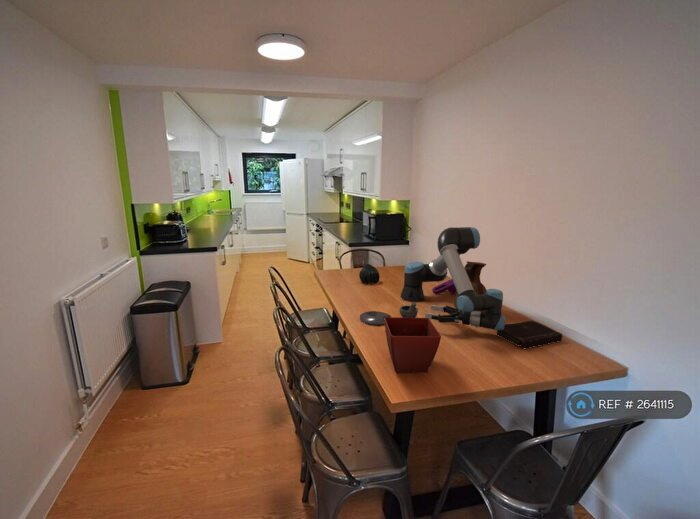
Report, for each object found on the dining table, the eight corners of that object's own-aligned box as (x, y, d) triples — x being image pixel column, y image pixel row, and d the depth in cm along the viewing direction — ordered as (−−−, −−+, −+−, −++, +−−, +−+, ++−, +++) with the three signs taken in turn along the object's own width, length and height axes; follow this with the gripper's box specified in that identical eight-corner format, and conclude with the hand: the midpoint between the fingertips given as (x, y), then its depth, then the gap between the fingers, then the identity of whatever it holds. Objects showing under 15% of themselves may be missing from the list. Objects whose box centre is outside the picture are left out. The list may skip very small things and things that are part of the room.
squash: (380, 279, 244) (379, 261, 251) (359, 280, 244) (359, 261, 252) (379, 288, 256) (378, 270, 264) (359, 288, 257) (359, 270, 264)
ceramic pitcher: (493, 312, 201) (499, 262, 194) (479, 321, 186) (485, 268, 180) (461, 303, 214) (466, 256, 207) (446, 311, 199) (450, 261, 193)
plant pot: (426, 353, 149) (428, 317, 146) (438, 377, 131) (442, 336, 127) (382, 353, 149) (384, 316, 145) (388, 377, 130) (390, 336, 126)
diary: (561, 343, 164) (563, 333, 163) (523, 351, 154) (524, 341, 153) (528, 327, 181) (530, 318, 179) (492, 334, 171) (493, 325, 170)
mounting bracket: (438, 303, 231) (463, 292, 230) (434, 292, 229) (459, 281, 228) (434, 299, 240) (458, 288, 239) (430, 288, 238) (454, 278, 238)
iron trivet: (379, 311, 197) (379, 309, 197) (397, 322, 183) (397, 319, 182) (353, 316, 189) (354, 314, 188) (371, 328, 174) (371, 325, 174)
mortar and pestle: (396, 318, 189) (397, 297, 186) (411, 316, 191) (412, 295, 189) (405, 325, 178) (407, 304, 176) (421, 324, 181) (423, 302, 178)
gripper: (467, 334, 160) (422, 326, 168) (472, 317, 182) (432, 310, 191) (468, 318, 158) (423, 311, 167) (474, 303, 181) (433, 298, 189)
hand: (428, 311), depth 179 cm, fingers open, 13 cm apart
